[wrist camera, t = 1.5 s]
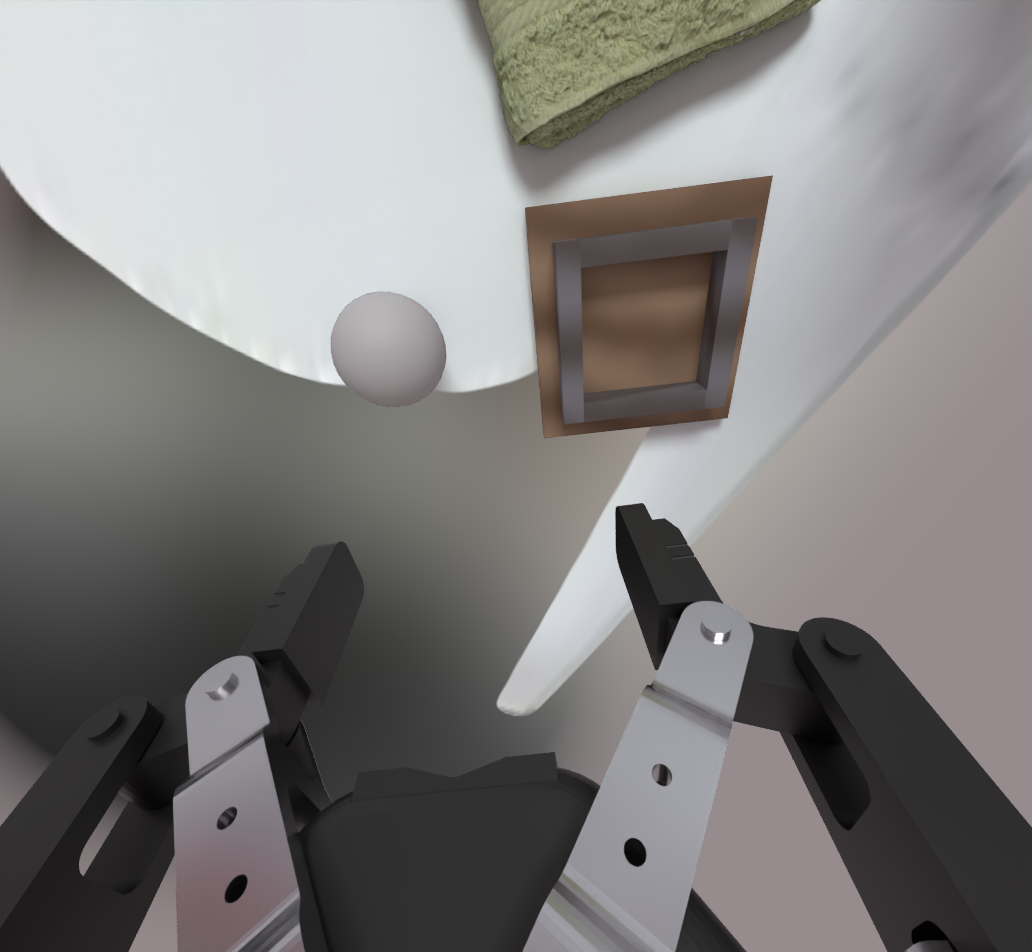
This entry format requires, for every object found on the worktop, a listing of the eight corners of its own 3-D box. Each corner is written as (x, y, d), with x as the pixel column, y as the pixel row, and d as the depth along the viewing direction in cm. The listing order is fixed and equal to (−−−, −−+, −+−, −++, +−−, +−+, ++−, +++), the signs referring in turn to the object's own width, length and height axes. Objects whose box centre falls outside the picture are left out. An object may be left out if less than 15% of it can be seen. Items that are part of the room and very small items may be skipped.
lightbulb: (367, 349, 30) (307, 405, 21) (380, 261, 27) (316, 282, 18) (447, 373, 31) (424, 438, 22) (468, 292, 28) (451, 327, 19)
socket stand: (525, 208, 26) (527, 206, 23) (763, 177, 25) (792, 172, 23) (543, 432, 34) (546, 449, 32) (722, 413, 34) (739, 428, 31)
